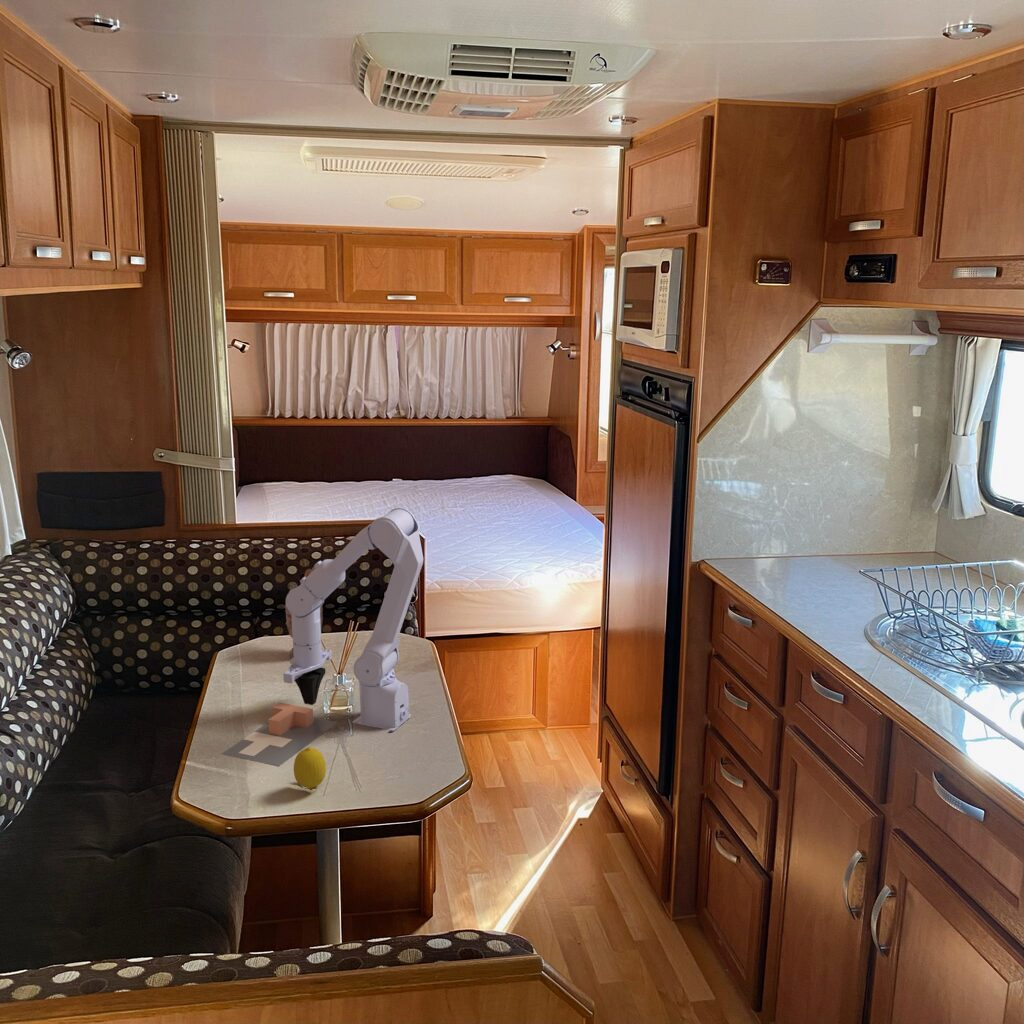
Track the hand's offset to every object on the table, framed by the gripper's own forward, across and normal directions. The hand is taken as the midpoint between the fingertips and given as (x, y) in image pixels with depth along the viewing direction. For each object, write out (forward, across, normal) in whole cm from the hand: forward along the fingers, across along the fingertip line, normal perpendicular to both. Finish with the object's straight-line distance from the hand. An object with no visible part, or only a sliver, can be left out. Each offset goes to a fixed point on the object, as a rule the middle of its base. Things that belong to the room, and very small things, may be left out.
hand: (310, 703), depth 202 cm
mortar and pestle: (+2, -28, -20) cm, 34 cm away
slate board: (+2, +13, +2) cm, 13 cm away
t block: (+1, +9, 0) cm, 9 cm away
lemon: (+2, +27, +18) cm, 33 cm away
